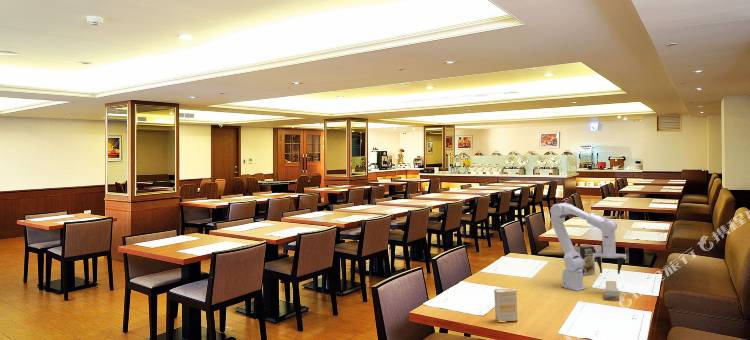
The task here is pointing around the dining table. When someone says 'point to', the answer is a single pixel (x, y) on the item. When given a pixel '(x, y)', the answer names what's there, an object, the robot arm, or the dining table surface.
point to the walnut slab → (610, 298)
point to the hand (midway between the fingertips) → (609, 273)
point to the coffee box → (587, 258)
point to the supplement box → (505, 304)
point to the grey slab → (612, 293)
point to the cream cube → (611, 285)
